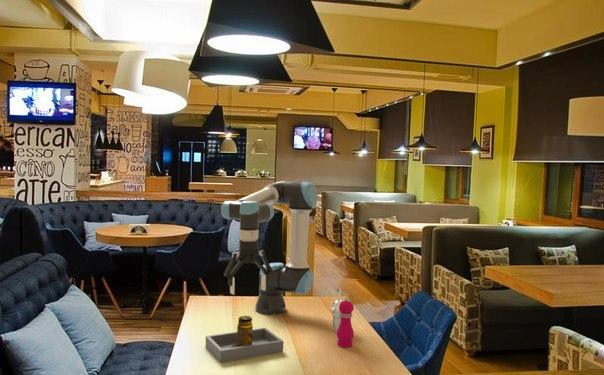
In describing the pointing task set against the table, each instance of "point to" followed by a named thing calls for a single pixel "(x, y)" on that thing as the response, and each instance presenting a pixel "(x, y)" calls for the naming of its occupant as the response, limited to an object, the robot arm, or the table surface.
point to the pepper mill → (345, 324)
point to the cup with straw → (336, 312)
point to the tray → (261, 345)
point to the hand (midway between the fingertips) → (248, 291)
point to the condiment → (244, 332)
